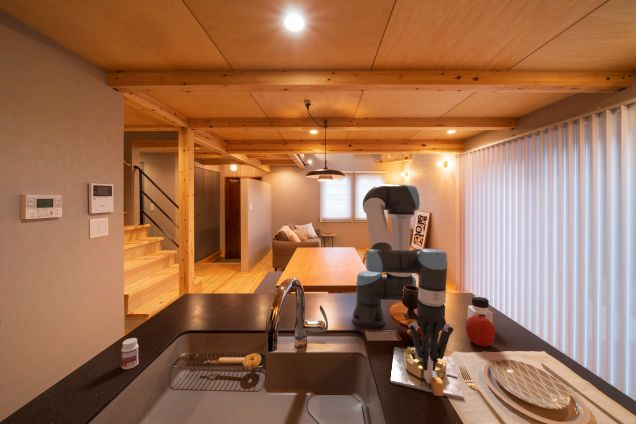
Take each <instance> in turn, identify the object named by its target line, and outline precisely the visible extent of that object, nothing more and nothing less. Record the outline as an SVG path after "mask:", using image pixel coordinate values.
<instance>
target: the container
mask: <svg viewBox="0 0 636 424" xmlns="http://www.w3.org/2000/svg"><path fill="white" fill-rule="evenodd" d="M489 305H490V301H489V299H487V298H486V297H484V296H478V295H476V296H475V295H474V296H473V297H471V305H467V320H468V319H469V318H470V317H472V316H474V315H478V316H480V315H481V316H483V317H485V318H487V319H488V320H489V321H490V322H491V323H492V324H493V325H494V321H493V320H494V313H493V312H492V311H491V310H490V309H489Z"/></svg>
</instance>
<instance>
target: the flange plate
mask: <svg viewBox="0 0 636 424" xmlns="http://www.w3.org/2000/svg"><path fill="white" fill-rule="evenodd" d="M406 350H407V348H402V347H397V346H394V348H393V358H392V368H391V376H390V383H391V384H394V385H400V386H404V387H407V388H412V389H416V390H420V391H424V392H429V393H433V392H432V390H431V385H430V383H427V381H426V379H422V378H420V377H418V376H416V375H414V374H413V373H411V372H409V371H408V370H406V367H405V364H404V362H403V353H404V351H406ZM421 350H422V346H421ZM429 353H430V350H429ZM429 356H430V354H429ZM415 359H418V360H420V363H421V364H422V358H419V357H418V355H417V354H416V352H415ZM443 359H444V361H445V362H446V374H445V375H444V376H443V377H442V378H441V380H442V382H443V396H446V397H450V398H456V399H459V400H463V401H465V400H464V399H465V397H464V391H463V389H462V386H461V382H460V379H459V375H458V372H457V367H456V364H455V361H454V358H453V357H451V356H445V355H444V356H443Z"/></svg>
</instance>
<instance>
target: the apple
mask: <svg viewBox="0 0 636 424" xmlns="http://www.w3.org/2000/svg"><path fill="white" fill-rule="evenodd" d="M464 329H465V332H466V336H467V338H468V339H469V340H470V341H471V343H473V344H475V345H477V346H478V347H488V346H490V345H493V343H494V340H495V338H496V328H495V326H494V323H493V324H492V323H491V322H490V321H489V320H488V319H487V318H485V317H483V316H481V315H480V316H478V315H474V316H472V317H470V318H469V319H468V318H467V319H466V321H465V326H464Z"/></svg>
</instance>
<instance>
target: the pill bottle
mask: <svg viewBox="0 0 636 424" xmlns="http://www.w3.org/2000/svg"><path fill="white" fill-rule="evenodd" d="M139 349H140V348H139V344H138V338H136V337H131V338H127V339H125V340H124V341H123V342H122V347H121V350H120V351H121V352H120V353H121V355H120V356H121V368H122V369H123V370H131V369H133V368H135V367H136V366H138V364H139V362H140V355H139V354H140V352H139Z"/></svg>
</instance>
